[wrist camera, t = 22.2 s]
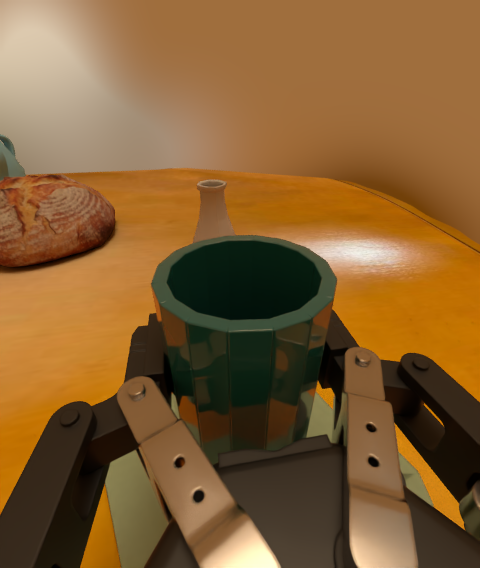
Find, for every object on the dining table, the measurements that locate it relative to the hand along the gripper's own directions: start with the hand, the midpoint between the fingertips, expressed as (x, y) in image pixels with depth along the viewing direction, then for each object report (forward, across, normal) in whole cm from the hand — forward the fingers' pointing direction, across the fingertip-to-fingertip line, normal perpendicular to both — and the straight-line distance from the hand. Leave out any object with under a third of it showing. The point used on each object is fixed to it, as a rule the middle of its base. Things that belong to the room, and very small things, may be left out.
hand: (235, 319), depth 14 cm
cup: (-2, 0, -7) cm, 7 cm away
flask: (+24, +1, -10) cm, 26 cm away
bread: (+35, -21, -10) cm, 42 cm away
